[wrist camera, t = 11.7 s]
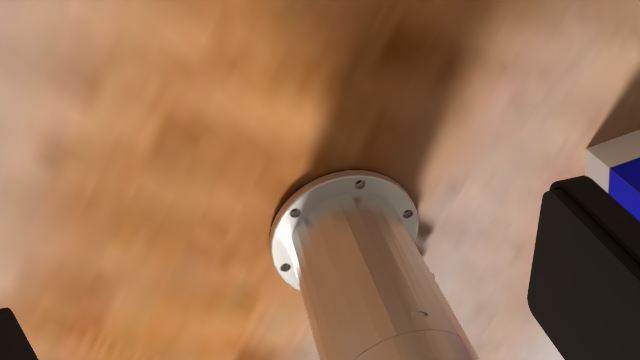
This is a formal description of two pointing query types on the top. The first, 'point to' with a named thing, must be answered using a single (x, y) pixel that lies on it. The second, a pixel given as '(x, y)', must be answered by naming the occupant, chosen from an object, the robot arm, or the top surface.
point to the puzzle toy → (617, 169)
